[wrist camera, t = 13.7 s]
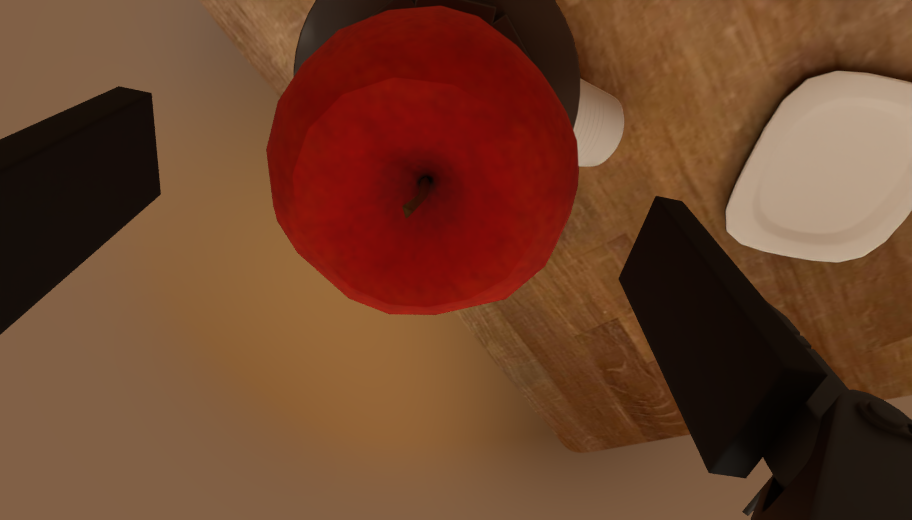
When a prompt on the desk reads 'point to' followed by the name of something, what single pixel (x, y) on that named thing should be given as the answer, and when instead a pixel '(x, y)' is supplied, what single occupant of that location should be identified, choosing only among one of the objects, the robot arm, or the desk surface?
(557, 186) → the apple
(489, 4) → the holder
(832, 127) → the plate
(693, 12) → the desk surface
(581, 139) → the cup
